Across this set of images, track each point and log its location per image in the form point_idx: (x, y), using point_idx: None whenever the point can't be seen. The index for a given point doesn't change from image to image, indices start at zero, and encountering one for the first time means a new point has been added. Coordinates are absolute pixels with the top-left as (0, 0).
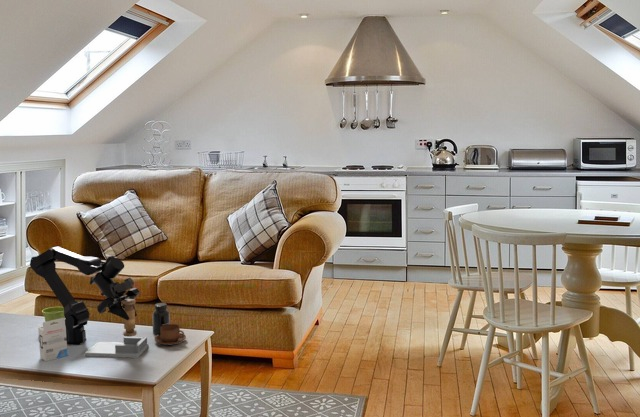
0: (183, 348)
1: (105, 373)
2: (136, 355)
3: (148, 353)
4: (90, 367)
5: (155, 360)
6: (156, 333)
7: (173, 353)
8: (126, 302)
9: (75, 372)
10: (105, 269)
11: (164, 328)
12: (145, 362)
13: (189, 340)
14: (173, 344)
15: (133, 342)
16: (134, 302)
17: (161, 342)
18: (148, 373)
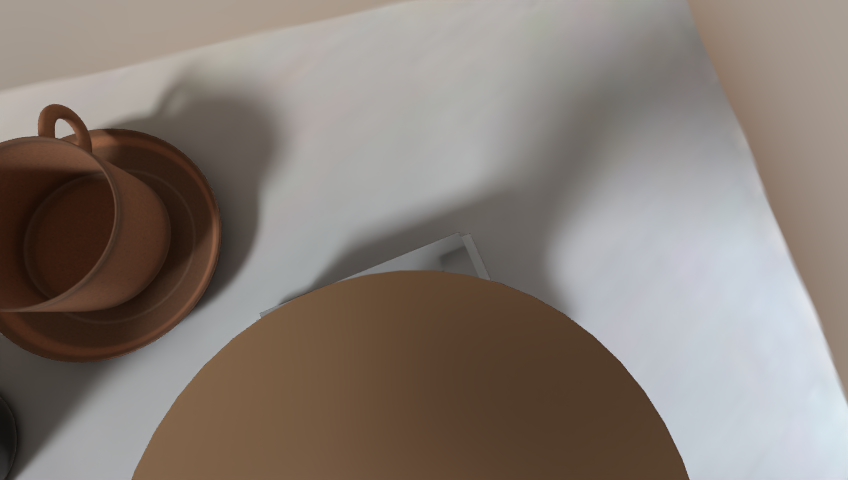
0: (203, 90)
1: (745, 226)
2: (471, 241)
3: (376, 226)
4: (739, 381)
5: (451, 111)
6: (9, 445)
7: (306, 90)
8: (660, 450)
9: (842, 400)
10: None
11: (18, 306)
12: (504, 140)
13: None
14: (176, 175)
15: None
16: (371, 279)
17: (219, 228)
18: (614, 25)
